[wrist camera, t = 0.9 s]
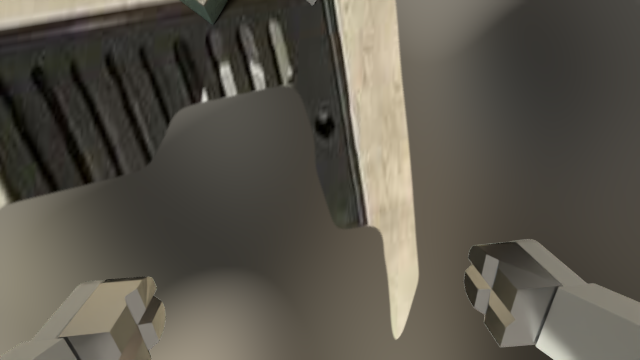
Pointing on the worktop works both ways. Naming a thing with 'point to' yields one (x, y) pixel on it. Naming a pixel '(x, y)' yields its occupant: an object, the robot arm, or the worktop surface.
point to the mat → (311, 2)
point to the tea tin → (207, 8)
